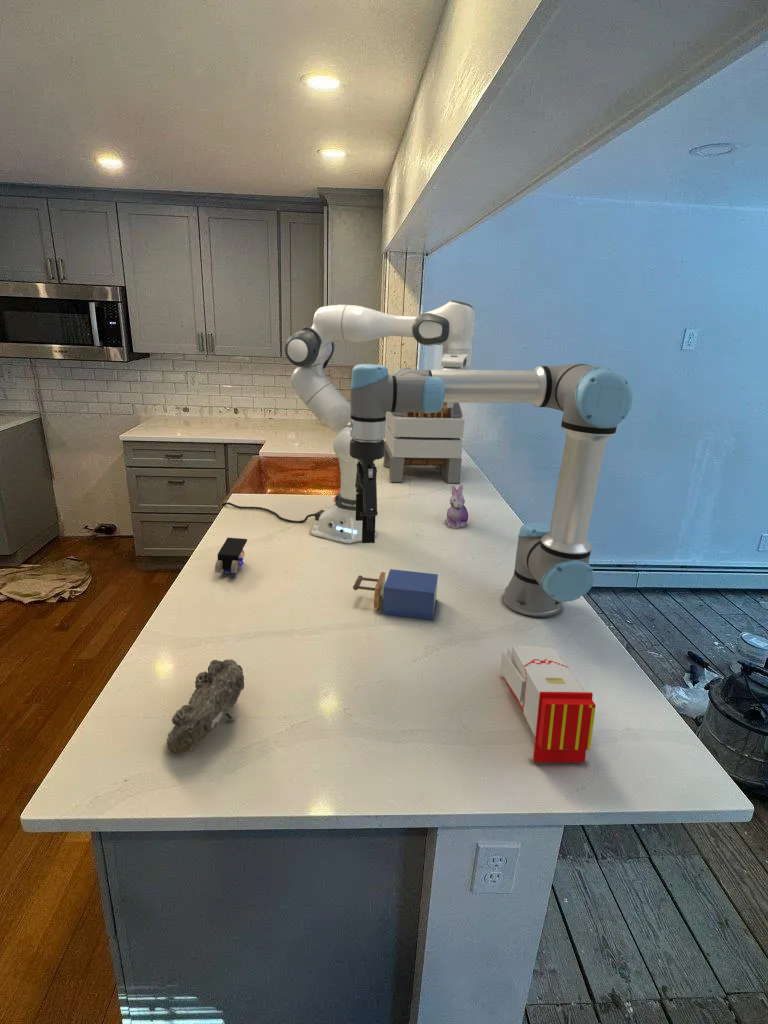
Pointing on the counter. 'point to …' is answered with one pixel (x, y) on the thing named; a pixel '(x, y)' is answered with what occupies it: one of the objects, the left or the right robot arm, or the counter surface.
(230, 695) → the fossil
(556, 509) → the right robot arm
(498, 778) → the counter surface
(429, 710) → the counter surface
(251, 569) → the counter surface
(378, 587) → the wooden drawer
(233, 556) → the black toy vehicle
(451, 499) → the figurine
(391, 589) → the blue square-sided box
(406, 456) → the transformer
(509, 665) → the toy
